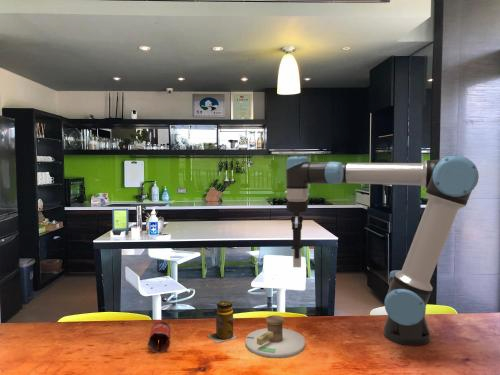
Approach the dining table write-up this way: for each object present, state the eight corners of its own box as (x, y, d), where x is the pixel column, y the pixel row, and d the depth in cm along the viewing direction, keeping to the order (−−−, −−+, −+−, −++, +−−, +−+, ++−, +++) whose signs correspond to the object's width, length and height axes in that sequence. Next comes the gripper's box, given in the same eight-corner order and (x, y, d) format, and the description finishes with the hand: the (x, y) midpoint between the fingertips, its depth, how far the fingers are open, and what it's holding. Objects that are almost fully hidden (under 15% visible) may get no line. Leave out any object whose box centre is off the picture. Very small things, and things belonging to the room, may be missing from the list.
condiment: (238, 337, 138) (237, 303, 138) (216, 343, 134) (216, 308, 133) (227, 330, 144) (227, 298, 144) (206, 336, 140) (206, 302, 139)
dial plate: (305, 333, 141) (305, 329, 141) (304, 360, 121) (304, 354, 121) (250, 330, 144) (250, 325, 144) (240, 355, 125) (240, 350, 125)
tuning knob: (272, 333, 137) (272, 314, 137) (287, 338, 133) (287, 317, 133) (251, 346, 127) (251, 325, 127) (266, 351, 123) (266, 329, 123)
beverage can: (171, 337, 139) (171, 318, 139) (170, 352, 127) (169, 332, 127) (150, 338, 138) (150, 320, 138) (147, 354, 126) (147, 334, 126)
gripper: (287, 199, 146) (287, 262, 147) (284, 201, 133) (285, 271, 134) (308, 199, 144) (308, 262, 145) (307, 202, 131) (307, 271, 132)
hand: (297, 266), depth 139 cm, fingers closed
